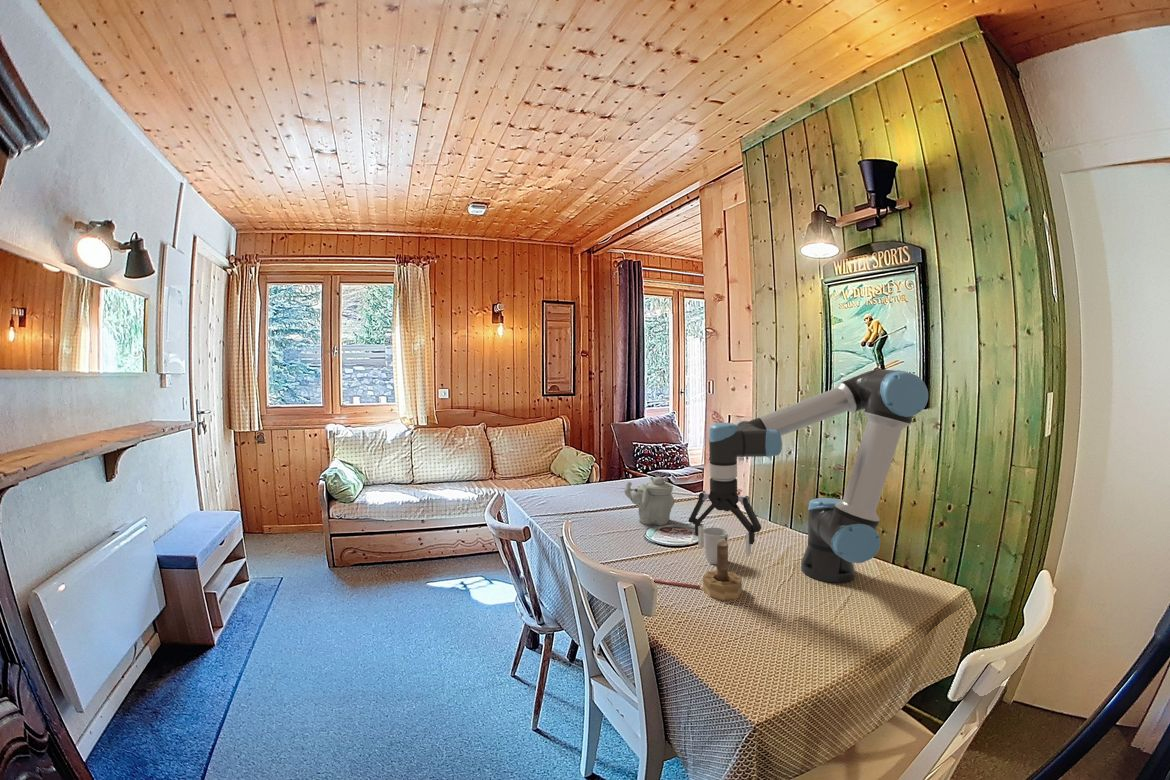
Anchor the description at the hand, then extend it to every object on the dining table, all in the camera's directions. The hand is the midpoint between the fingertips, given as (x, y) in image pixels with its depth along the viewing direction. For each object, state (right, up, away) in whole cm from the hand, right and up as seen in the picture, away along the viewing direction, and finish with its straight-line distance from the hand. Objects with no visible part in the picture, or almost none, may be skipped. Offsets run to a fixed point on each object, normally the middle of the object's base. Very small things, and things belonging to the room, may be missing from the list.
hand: (724, 550), depth 152 cm
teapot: (-14, -7, +62) cm, 64 cm away
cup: (+3, -10, +22) cm, 25 cm away
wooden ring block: (0, -12, +1) cm, 12 cm away
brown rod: (0, -12, +1) cm, 12 cm away
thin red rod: (-13, -12, +5) cm, 18 cm away
